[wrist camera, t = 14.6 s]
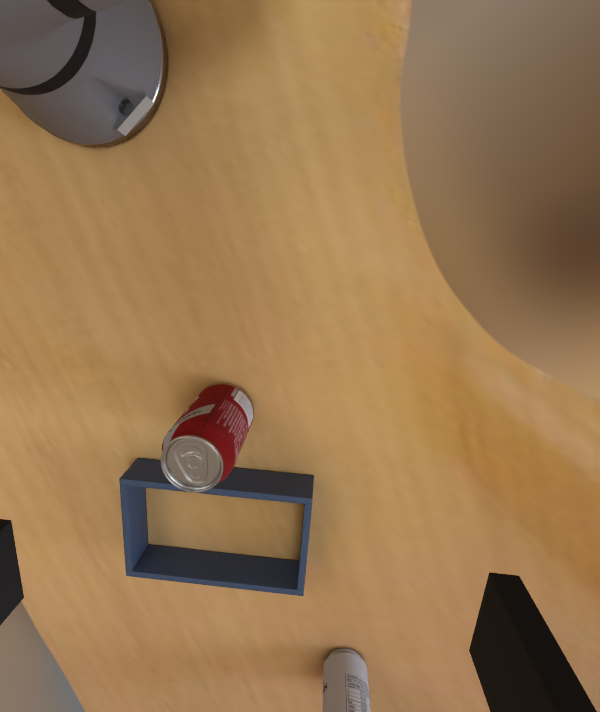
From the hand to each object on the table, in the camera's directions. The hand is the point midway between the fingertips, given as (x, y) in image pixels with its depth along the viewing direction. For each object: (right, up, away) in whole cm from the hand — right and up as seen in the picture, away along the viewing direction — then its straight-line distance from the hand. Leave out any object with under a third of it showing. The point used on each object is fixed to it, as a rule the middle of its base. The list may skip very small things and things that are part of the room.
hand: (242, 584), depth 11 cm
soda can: (-7, 0, +35) cm, 35 cm away
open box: (-8, -14, +39) cm, 42 cm away
